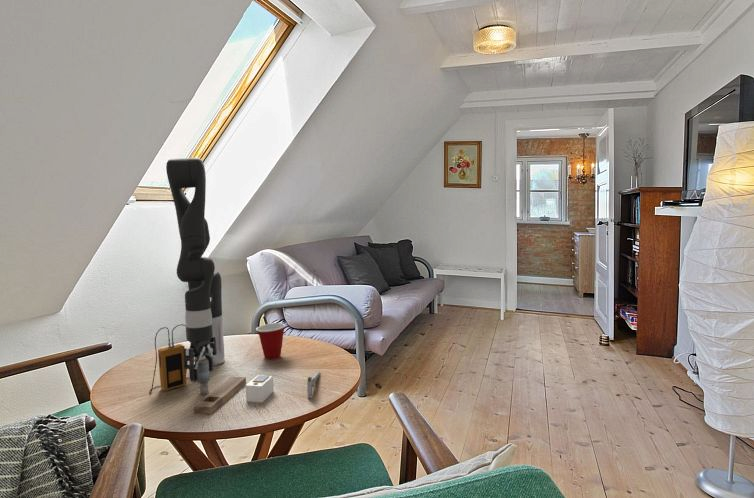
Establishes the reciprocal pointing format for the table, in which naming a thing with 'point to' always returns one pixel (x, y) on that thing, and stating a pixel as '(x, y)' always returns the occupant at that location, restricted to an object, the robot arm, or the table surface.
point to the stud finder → (259, 388)
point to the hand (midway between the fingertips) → (201, 375)
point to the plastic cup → (271, 339)
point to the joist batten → (219, 395)
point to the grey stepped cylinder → (203, 375)
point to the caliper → (311, 383)
